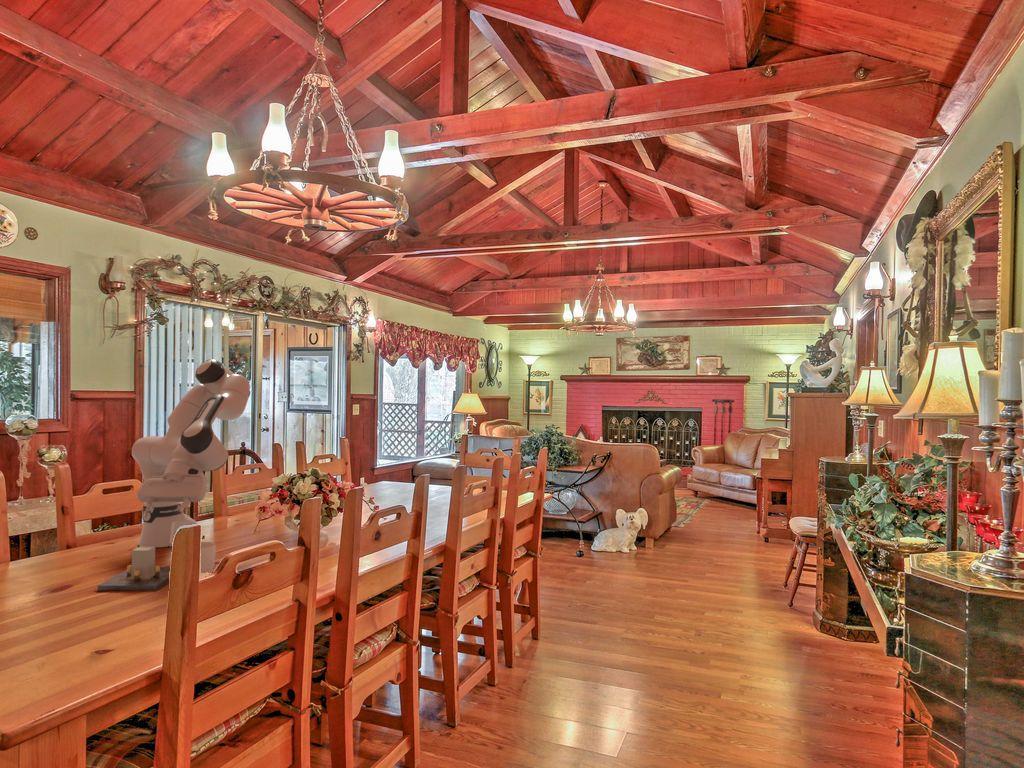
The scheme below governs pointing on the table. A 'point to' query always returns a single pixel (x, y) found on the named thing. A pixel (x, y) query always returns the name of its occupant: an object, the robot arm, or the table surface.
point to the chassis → (137, 580)
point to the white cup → (207, 556)
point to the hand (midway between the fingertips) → (163, 511)
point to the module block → (143, 561)
